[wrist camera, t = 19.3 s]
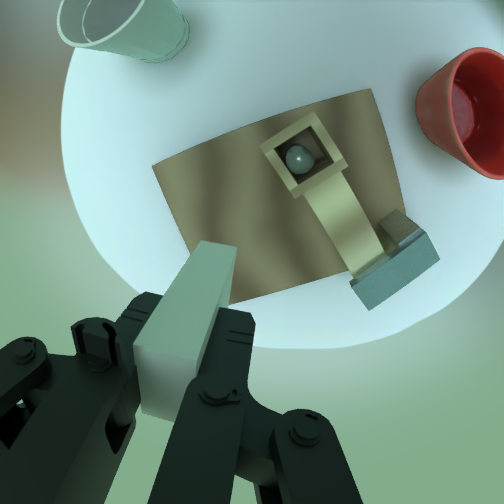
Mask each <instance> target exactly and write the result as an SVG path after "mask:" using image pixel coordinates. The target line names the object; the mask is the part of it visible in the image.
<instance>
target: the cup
mask: <svg viewBox="0 0 504 504" xmlns="http://www.w3.org/2000/svg"><path fill="white" fill-rule="evenodd" d="M57 28H58V32H59V35H60V37H61V38H62V40H63V41H64V42H65V43H67V44H68V45H70V46H73V47H78V48H86V49H93V50H99V51H107V52H112V53H117V54H121V55H126V56H130V57H134V58H138V59H141V60H143V61H146V62H150V63H158V62H163V61H166V60H168V59H170V58H172V57H174V56H175V55H176V54H177V53H179V52H180V51H181V49H182V48H183V47H184V45H185V44H186V42H187V40H188V36H189V25H188V22H187V20H186V19H185V17H184V16H183V15H182V14H181V13H180V11H179V10H178V8H177V7H176V6H175V4H174V3H173V1H172V0H62V2H61V4H60V7H59V11H58V15H57Z"/></svg>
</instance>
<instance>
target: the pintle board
mask: <svg viewBox="0 0 504 504" xmlns="http://www.w3.org/2000/svg"><path fill="white" fill-rule="evenodd" d="M313 111H314V112H315V114H316V115H317V117H318V118H319V120H320V121H321V123H322V124H323V126H324V127H325V129H326V131H327V132H328V134H329V135H330V137H331V138H332V140H333V141H334V143H335V145H336V146H337V148H338V150H339V151H340V153H341V154H342V156H343V158H344V159H345V161H346V163H347V164H348V167H346V168H345V169H343V170H341V172H342V174H343V176H344V178H345V179H346V181H347V183H348V184H349V186H350V188H351V190H352V191H353V193H354V195H355V197H356V198H357V200H358V202H359V204H360V206H361V207H362V209H363V211H364V213H365V215H366V217H367V218H368V220H369V222H370V224H371V226H372V228H373V230H374V232H375V234H376V236H377V238H378V240H379V242H380V244H381V246H382V248H383V250H384V252H385V254H386V255H387V254H389V253H390V252H391V251H393V250H394V249H395V248H396V247H395V246H394V245H393V243H392V242H391V241H390V240H389V239H388V237H387V235H386V234H385V232H384V231H383V229H382V228H381V226H380V225H379V223H378V222H379V221H380V220H381V219H383V218H384V217H385V216H387V215H388V214H389V213H391V212H392V211H393V210H395V209H398V210H399V211H400V212H402V213H403V214H404V215H405V216H406V213H405V208H404V203H403V199H402V194H401V189H400V185H399V181H398V177H397V173H396V169H395V165H394V161H393V157H392V153H391V150H390V146H389V143H388V139H387V136H386V133H385V129H384V126H383V123H382V120H381V117H380V114H379V111H378V108H377V105H376V102H375V99H374V96H373V93H372V91H371V88H370V89H365V90H361V91H357V92H353V93H349V94H345V95H341V96H338V97H334V98H330V99H327V100H323V101H320V102H316V103H313V104H309V105H306V106H303V107H300V108H296V109H293V110H290V111H287V112H284V113H281V114H278V115H275V116H272V117H269V118H266V119H263V120H261V121H258V122H255V123H252V124H250V125H247V126H244V127H241V128H239V129H236V130H234V131H231V132H228V133H226V134H223V135H221V136H218V137H216V138H213V139H211V140H209V141H206V142H204V143H201V144H199V145H197V146H194V147H192V148H190V149H188V150H185V151H183V152H181V153H179V154H176V155H174V156H172V157H170V158H168V159H165V160H163V161H161V162H159V163H157V164H155V165H153V166H152V168H153V171H154V173H155V175H156V178H157V180H158V183H159V185H160V187H161V190H162V192H163V194H164V197H165V199H166V201H167V203H168V206H169V208H170V210H171V213H172V215H173V217H174V219H175V222H176V224H177V226H178V228H179V231H180V233H181V235H182V237H183V239H184V241H185V244H186V246H187V248H188V250H189V252H190V254H192V253H193V251H194V250H195V248H196V247H197V245H198V244H199V242H200V241H201V240H202V241H207V242H213V243H218V244H223V245H229V246H234V247H237V252H236V259H235V265H234V272H233V278H232V285H231V291H230V298H229V304H228V305H231V304H234V303H238V302H242V301H245V300H249V299H253V298H256V297H260V296H264V295H267V294H271V293H274V292H278V291H281V290H285V289H288V288H292V287H295V286H298V285H302V284H305V283H309V282H312V281H315V280H319V279H322V278H325V277H329V276H332V275H335V274H338V273H342V272H345V271H348V270H349V269H348V267H347V265H346V264H345V262H344V260H343V258H342V257H341V255H340V253H339V252H338V250H337V248H336V247H335V245H334V243H333V242H332V240H331V238H330V237H329V235H328V233H327V232H326V230H325V228H324V227H323V225H322V223H321V222H320V220H319V219H318V217H317V215H316V214H315V212H314V211H313V209H312V207H311V206H310V204H309V203H308V201H307V200H306V198H305V196H304V195H303V194H302V195H301V196H299V197H297V198H296V199H295V198H294V197H293V195H292V194H291V192H290V191H289V189H288V188H287V186H286V185H285V183H284V182H283V180H282V179H281V177H280V176H279V174H278V173H277V172H276V170H275V169H274V167H273V166H272V164H271V163H270V161H269V160H268V158H267V157H266V156H265V154H264V153H263V151H262V150H261V148H260V147H259V145H261V144H262V143H264V142H265V141H267V140H268V139H270V138H271V137H273V136H275V135H276V134H278V133H279V132H281V131H282V130H284V129H286V128H287V127H289V126H290V125H292V124H294V123H295V122H297V121H298V120H300V119H302V118H303V117H305V116H307V115H308V114H310V113H312V112H313ZM293 143H298V144H301V145H302V146H304V147H305V148H307V149H308V150H310V151H311V153H312V154H313V157H314V164H315V163H317V162H318V161H320V160H322V159H323V158H325V155H324V154H323V152H322V151H321V149H320V147H319V146H318V144H317V143H316V141H315V140H314V138H313V137H312V135H311V134H310V132H309V131H308V129H307V128H306V129H304V130H302V131H301V132H299V133H297V134H296V135H294V136H293V137H291V138H289V139H288V140H286V141H285V142H283V143H282V144H280V145H278V146H277V147H276V148H277V150H278V151H279V153H280V154H281V156H282V157H283V159H284V160H285V162H286V158H285V150H286V148H287V147H288V146H289V145H290V144H293ZM293 174H294V175H295V176H296V175H297V173H294V172H293Z"/></svg>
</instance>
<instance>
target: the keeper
mask: <svg viewBox="0 0 504 504" xmlns="http://www.w3.org/2000/svg"><path fill="white" fill-rule="evenodd" d="M378 223H379V225H380V226H381V228H382V229H383V231H384V232H385V234H386V235H387V237H388V239H389V240H390V241H391V242H392V243H393V245H394V246H395V247H396V248H395V249H394V250H393V251H391V252H390V253H389V254H387V255H386V256H385V257H383V258H382V259H381V260H379V261H378V262H376V263H375V264H374V265H372V266H371V267H369V268H368V269H367V270H365V271H364V272H362V273H361V274H360V275H358V276H357V277H355V278H354V279H352V280H351V281H350V285H351V288H352V289H353V290H354V292H355V293H356V294H357V296H358V297H359V298H360V300H361V301H362V302H363V304H364V305H365V306H366V308H367V309H368V310H371V309H372V308H374V307H375V306H377V305H378V304H380V303H381V302H383V301H384V300H386V299H387V298H389V297H390V296H391V295H393V294H394V293H396V292H397V291H399V290H400V289H401V288H403V287H404V286H406V285H407V284H408V283H410V282H411V281H412V280H414V279H415V278H416V277H418V276H419V275H420V274H422V273H423V272H424V271H426V270H427V269H428V268H430V267H431V266H432V265H433V264H435V263H436V262H437V261H439V260H440V258H439V256H438V254H437V252H436V250H435V248H434V246H433V244H432V242H431V240H430V239H429V237H428V235H427V233H426V232H425V231H424V230H423V229H421V228H420V227H419V226H418V225H417V224H416V223H414V222H413V221H412V220H411V219H409V218H408V217H407V216H405V215H404V214H403V213H402V212H400V211H399V210H398V209H395V210H393V211H392V212H391V213H389V214H388V215H387V216H385V217H384V218H383V219H381V220H380V221H379V222H378Z"/></svg>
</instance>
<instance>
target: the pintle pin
mask: <svg viewBox="0 0 504 504" xmlns="http://www.w3.org/2000/svg"><path fill="white" fill-rule="evenodd" d="M285 158H286V164H287V166H288V168H289V169H290V170H291V171H292V172H294V173H297V174H304V173H306V172H308V171H309V170H310V169H311V168H312V167H313V164H314V157H313V154H312V153H311V151H310V150H308V149H307V148H305V147H304V146H302V145H301V144H298V143H293V144H290V145H289V146H288V147H287V148H286V150H285Z"/></svg>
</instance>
